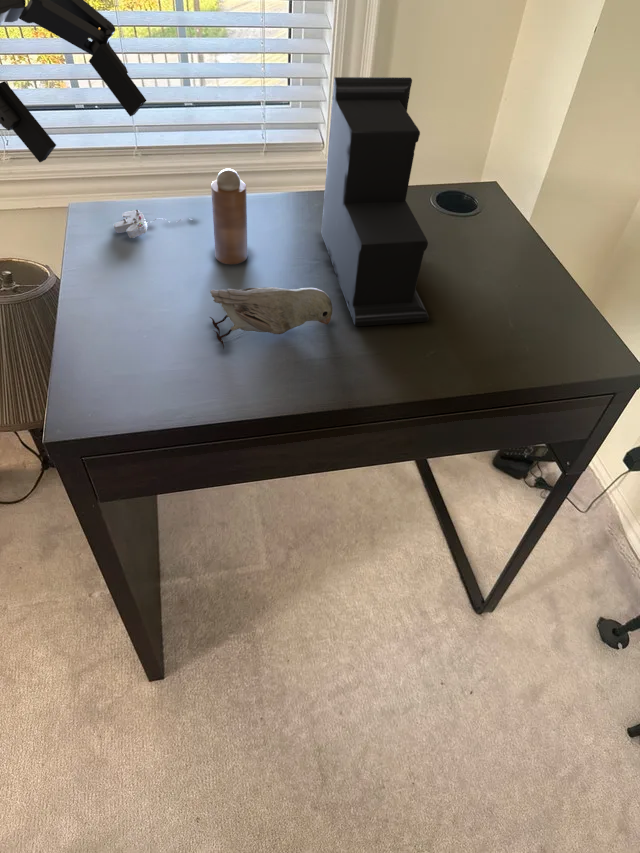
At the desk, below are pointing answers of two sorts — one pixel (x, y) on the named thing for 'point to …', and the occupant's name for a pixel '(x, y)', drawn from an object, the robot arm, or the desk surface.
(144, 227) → the game controller
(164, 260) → the desk surface
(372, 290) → the bookend
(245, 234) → the pepper mill
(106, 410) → the desk surface
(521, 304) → the desk surface
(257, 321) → the decorative bird
